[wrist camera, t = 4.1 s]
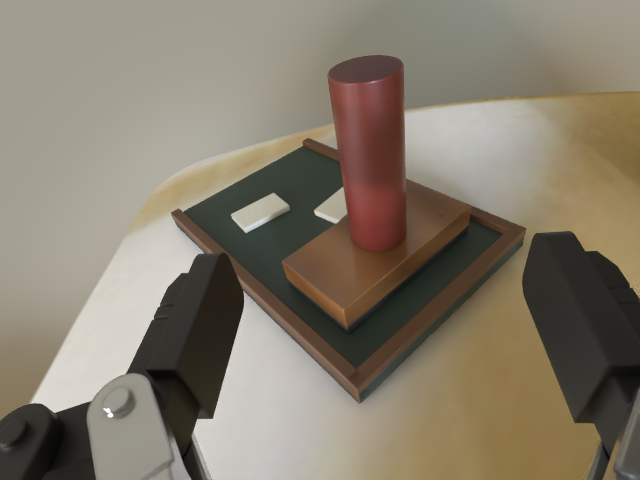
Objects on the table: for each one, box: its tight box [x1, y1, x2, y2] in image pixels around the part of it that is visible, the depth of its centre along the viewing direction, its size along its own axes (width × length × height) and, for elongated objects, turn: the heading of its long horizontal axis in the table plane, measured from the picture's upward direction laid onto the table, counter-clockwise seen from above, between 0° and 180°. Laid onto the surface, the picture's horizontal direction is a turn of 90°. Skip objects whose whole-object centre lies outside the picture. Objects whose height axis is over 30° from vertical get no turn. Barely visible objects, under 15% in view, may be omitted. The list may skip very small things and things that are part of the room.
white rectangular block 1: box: [231, 193, 290, 233], centre depth 31 cm, size 4×2×1 cm, turn 125°
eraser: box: [282, 55, 471, 335], centre depth 22 cm, size 11×6×12 cm, turn 131°
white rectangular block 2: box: [314, 187, 347, 224], centre depth 30 cm, size 4×2×1 cm, turn 139°
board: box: [171, 138, 526, 403], centre depth 29 cm, size 15×22×2 cm
